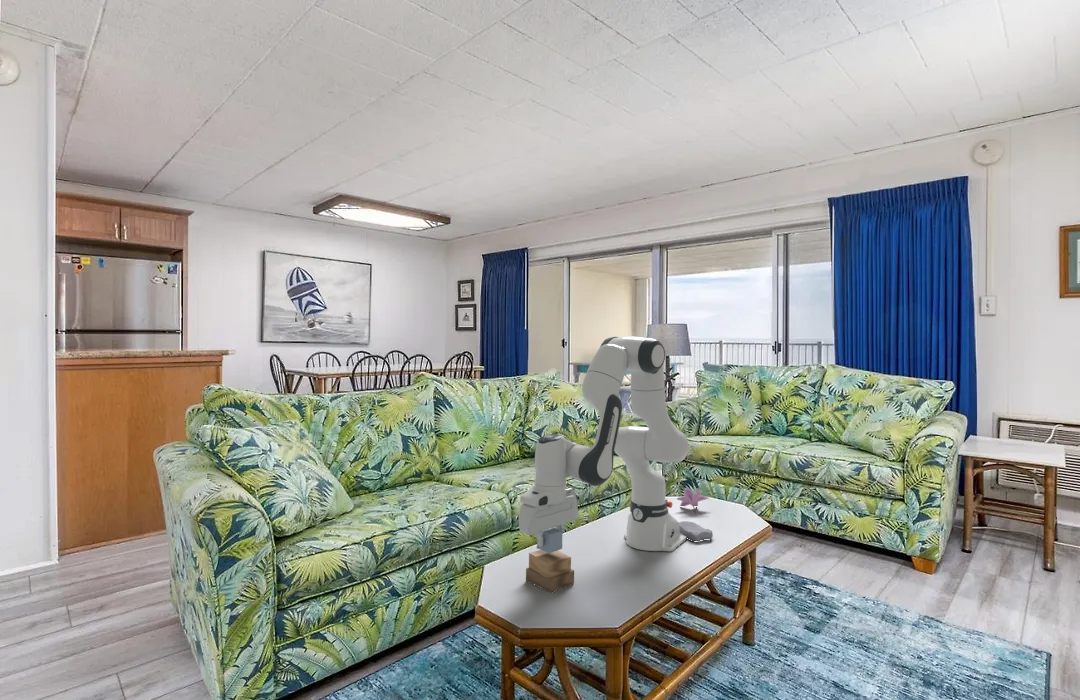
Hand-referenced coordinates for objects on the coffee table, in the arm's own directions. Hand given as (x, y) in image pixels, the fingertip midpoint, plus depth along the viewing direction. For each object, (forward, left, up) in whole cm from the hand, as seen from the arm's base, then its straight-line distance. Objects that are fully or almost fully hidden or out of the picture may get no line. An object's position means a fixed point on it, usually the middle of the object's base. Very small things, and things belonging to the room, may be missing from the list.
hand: (549, 542), depth 157 cm
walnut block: (0, 0, -12) cm, 12 cm away
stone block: (-65, +8, -12) cm, 67 cm away
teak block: (0, 0, -8) cm, 8 cm away
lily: (-91, -9, -11) cm, 93 cm away
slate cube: (0, 0, -2) cm, 2 cm away
